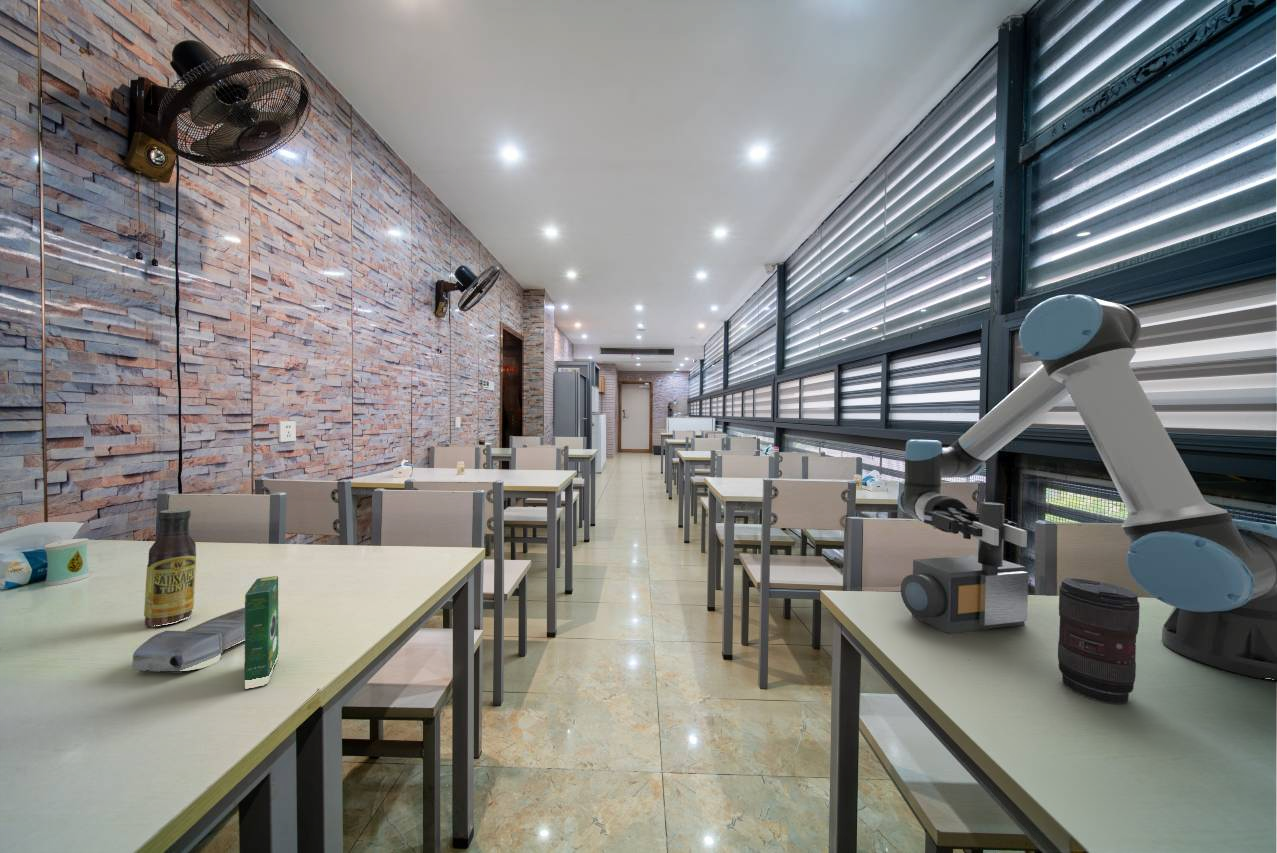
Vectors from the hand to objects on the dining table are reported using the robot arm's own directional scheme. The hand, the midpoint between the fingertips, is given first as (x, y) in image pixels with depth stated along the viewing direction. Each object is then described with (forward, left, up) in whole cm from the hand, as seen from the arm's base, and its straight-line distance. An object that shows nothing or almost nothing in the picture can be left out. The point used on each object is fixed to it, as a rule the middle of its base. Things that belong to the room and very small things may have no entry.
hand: (1010, 538), depth 78 cm
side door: (+5, -5, -17) cm, 19 cm away
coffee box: (+16, +117, -19) cm, 119 cm away
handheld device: (+27, +128, -19) cm, 132 cm away
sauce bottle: (+39, +142, -19) cm, 148 cm away
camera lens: (-13, +1, -19) cm, 23 cm away
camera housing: (+10, -1, -19) cm, 21 cm away
